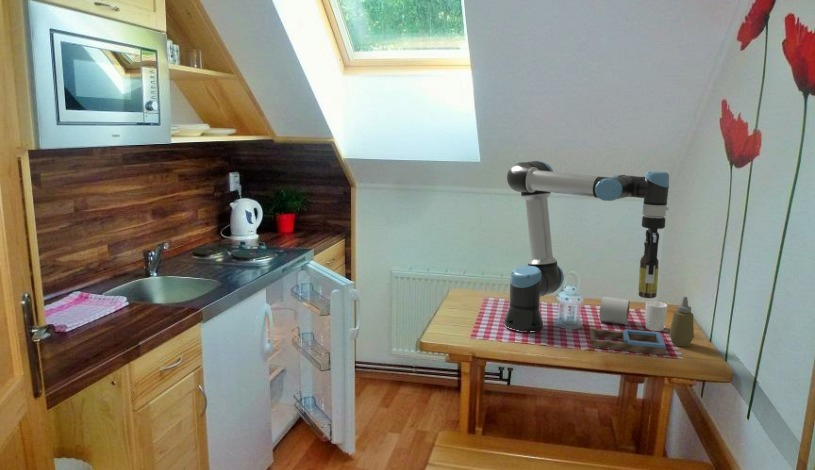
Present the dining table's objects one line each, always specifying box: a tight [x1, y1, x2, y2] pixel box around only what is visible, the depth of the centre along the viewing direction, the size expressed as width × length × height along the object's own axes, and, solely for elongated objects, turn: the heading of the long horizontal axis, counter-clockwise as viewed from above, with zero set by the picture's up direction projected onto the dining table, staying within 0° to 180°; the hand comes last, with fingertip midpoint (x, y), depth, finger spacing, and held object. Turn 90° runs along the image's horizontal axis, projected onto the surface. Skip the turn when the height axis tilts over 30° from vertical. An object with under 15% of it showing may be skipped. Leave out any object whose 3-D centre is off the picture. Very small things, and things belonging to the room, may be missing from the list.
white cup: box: [644, 300, 668, 332], centre depth 231 cm, size 8×8×10 cm
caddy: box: [589, 328, 666, 356], centre depth 214 cm, size 25×13×4 cm, turn 75°
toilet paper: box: [599, 296, 631, 326], centre depth 237 cm, size 10×10×10 cm
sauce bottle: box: [637, 240, 659, 299], centre depth 207 cm, size 6×6×20 cm
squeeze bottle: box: [669, 296, 695, 348], centre depth 213 cm, size 8×8×18 cm
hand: (648, 280), depth 208 cm, fingers closed on sauce bottle, 6 cm apart
